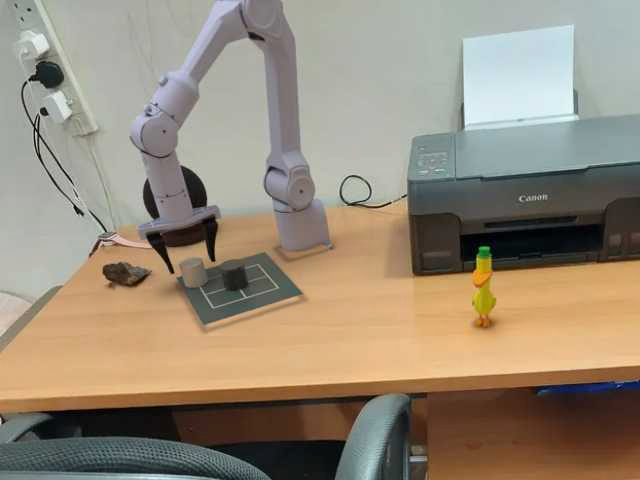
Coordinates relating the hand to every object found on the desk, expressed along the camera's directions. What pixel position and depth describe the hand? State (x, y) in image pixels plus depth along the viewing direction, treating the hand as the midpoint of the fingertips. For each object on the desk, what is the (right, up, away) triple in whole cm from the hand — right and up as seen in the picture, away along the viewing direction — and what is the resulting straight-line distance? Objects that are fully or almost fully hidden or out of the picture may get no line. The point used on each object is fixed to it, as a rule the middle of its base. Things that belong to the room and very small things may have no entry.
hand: (192, 266), depth 121 cm
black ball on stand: (-7, +13, +24) cm, 29 cm away
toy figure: (+49, -14, -19) cm, 55 cm away
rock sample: (-14, -1, +9) cm, 17 cm away
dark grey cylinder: (+8, -4, -1) cm, 9 cm away
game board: (+8, -5, 0) cm, 10 cm away
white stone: (0, -3, +2) cm, 3 cm away
